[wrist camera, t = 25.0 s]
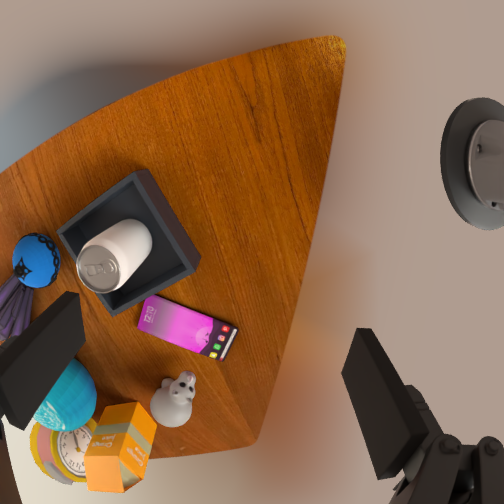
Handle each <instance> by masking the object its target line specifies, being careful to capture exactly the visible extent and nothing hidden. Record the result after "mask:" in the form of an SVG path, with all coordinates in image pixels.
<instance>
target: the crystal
mask: <svg viewBox="0 0 504 504" xmlns="http://www.w3.org/2000/svg"><path fill="white" fill-rule="evenodd" d="M33 292H34V289H33V288H32V287H30V286H27V285H26V284H24V283H22V282H21V281H20V280H19V278H18V277H16V276H15V275H14V273H13V274H12V275H11V277H10V278H9V279H8V280H7V281H6V282H5V283H4V284H3V285H2V286H1V287H0V341H4V340H7V339H8V338H9V336H10V335H11V336H10V337H12V336H14V335H18V336H19V335H20V334H21V333H22V332H23V331H24V330H25V329H26V328H27V327H28V326H29V325H30V316H31V307H32V299H33Z"/></svg>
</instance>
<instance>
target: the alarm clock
mask: <svg viewBox="0 0 504 504" xmlns="http://www.w3.org/2000/svg"><path fill="white" fill-rule="evenodd" d="M97 425H98V424H97V423H96V422H95V421H94V420H93V419H92V417H91V418H90V419H89V420H88V421H87V422H86V424H85V425H84V426H82V427H80V428H78V429H76V430H72V431H67V432H63V431H55V430H52V429H49V428H47V427H45V426H43V425H42V424H40V423H39V422H37V423H36V424H35V425H34V426H33V428H32V431H31V434H30V450H31V453H32V455H33V458H34V460H35V463H36V464H37V465H38V466H39V467H40V469H41V470H42V472H43V473H45V474H46V475H48V476H49V477H51V478H53V479H55V480H57V481H59V482H61V483H63V484H69V485H72V483H73V481H75V482H87V480H86V473H85V466H84V458H83V456H84V454H85V452H86V450H87V447H88V445H89V443H90V440H91V438H92V436H93V433H94V431H95V428H96V426H97Z"/></svg>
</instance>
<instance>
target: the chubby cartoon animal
mask: <svg viewBox="0 0 504 504" xmlns="http://www.w3.org/2000/svg"><path fill="white" fill-rule="evenodd" d="M195 381H196V377H195V375H194V374H193V373H192V372H191V371H183V372H182V373H181V374H180V376H179V378H178V379H177V380H175V381H174V380H173V379H171V378H165V379H163V381H162V384H161V386H162V388H159V389H157V390H156V392H155V394H154V395H153V397H152V399H151V402H150V409H151V413H152V415H153V417H154V418H155V420H156V421H157V422H159V423H160V424H162V425H164V426H167V427H178V426H181V425H183V424H184V423H186V422H187V421H188V419H189V418H190V416H191V413H192V399H193V398H194V395H195V389H194V384H195Z"/></svg>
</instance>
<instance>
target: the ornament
mask: <svg viewBox="0 0 504 504" xmlns="http://www.w3.org/2000/svg"><path fill="white" fill-rule="evenodd" d="M13 268H14V270H13V273H14V275H15V276H16V277H18V278H19V280H20V281H21V282H22V283H24V284H26V285H27V286H30V287H35V288H44V287H46V286H49V285H51V284H52V283H53V282H54V281H55V280H56V279H57V278H56V277H57V275H58V271H59V268H60V253H59V250H58V248H57V246H56V244H55V243H54V242H53V240H51V239H50V238H49V237H47V236H45V235H43V234H37V233H30V234H28V235H25V236H23V237H22V238H21V239H20V240H19V241H18V244H17V245H16V246H15V250H14V253H13Z"/></svg>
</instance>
